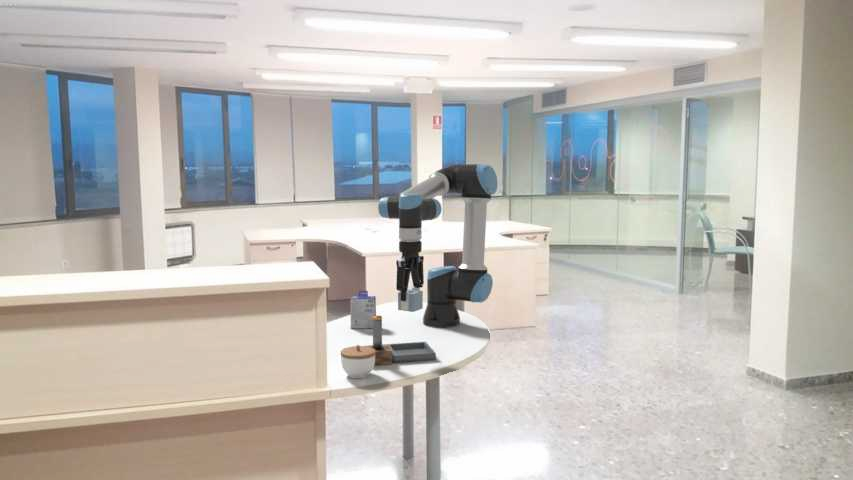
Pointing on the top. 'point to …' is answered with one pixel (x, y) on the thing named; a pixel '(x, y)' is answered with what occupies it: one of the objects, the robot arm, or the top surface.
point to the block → (412, 300)
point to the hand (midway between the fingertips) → (410, 308)
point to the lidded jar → (358, 360)
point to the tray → (411, 352)
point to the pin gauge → (377, 332)
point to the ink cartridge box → (362, 310)
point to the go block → (383, 355)
